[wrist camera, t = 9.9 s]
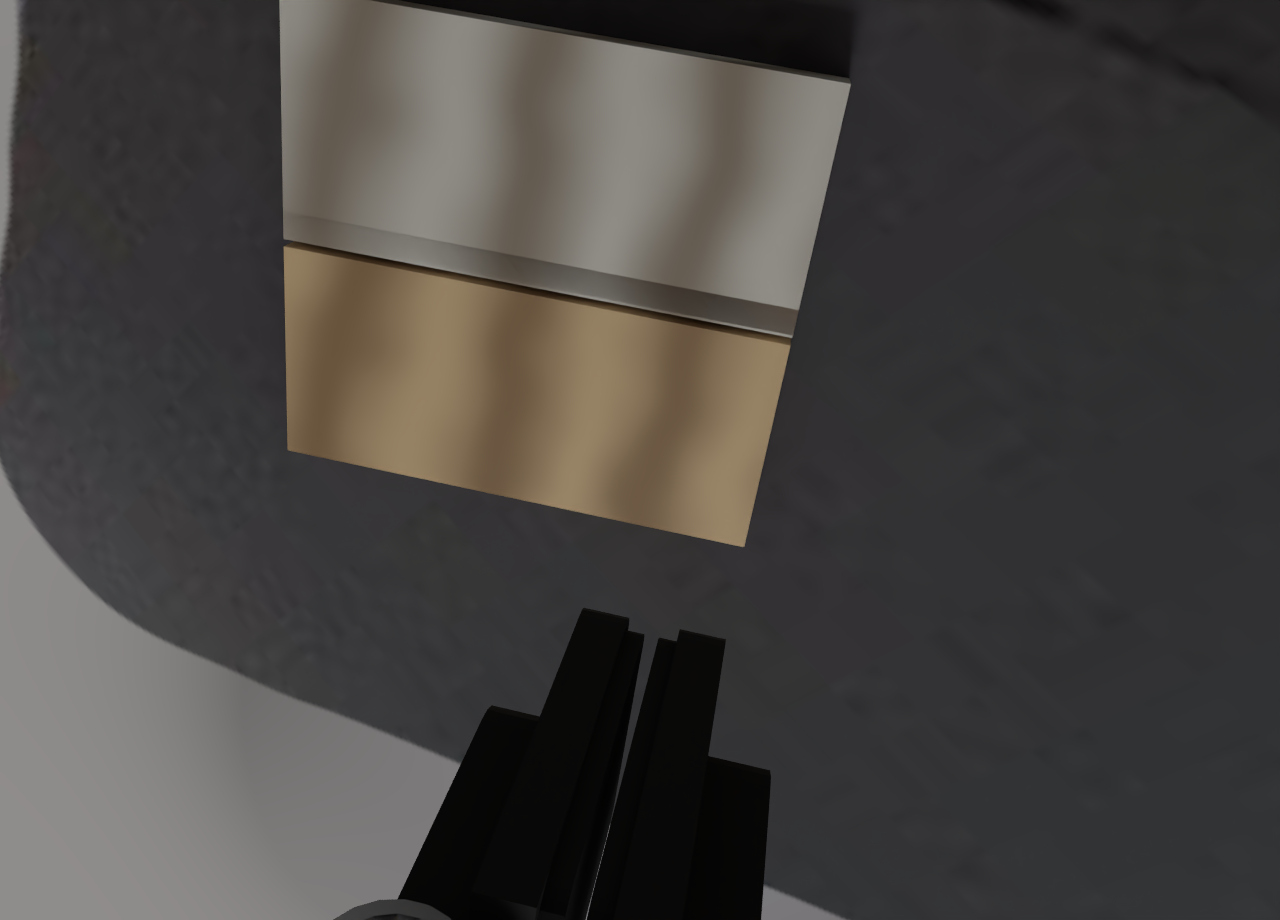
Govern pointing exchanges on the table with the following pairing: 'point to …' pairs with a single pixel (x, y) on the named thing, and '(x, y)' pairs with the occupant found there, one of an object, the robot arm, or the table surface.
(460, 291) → the oak plank
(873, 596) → the table surface
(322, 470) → the table surface
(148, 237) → the table surface
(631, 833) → the robot arm
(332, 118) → the laid plank
